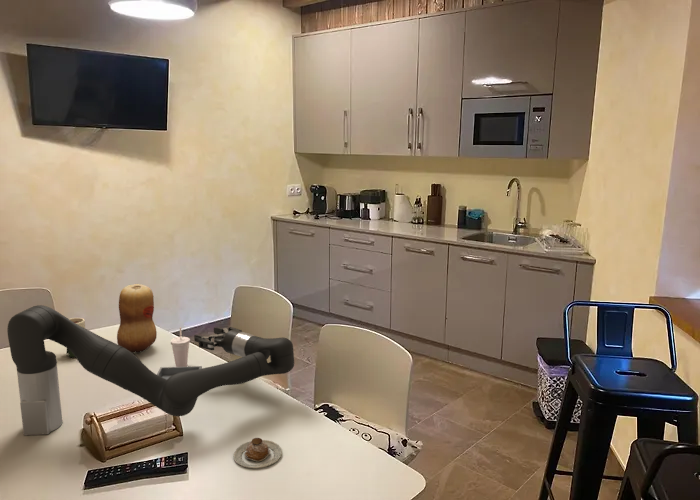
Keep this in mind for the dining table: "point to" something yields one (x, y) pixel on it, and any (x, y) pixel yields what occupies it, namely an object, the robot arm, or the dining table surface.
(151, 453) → the dining table surface
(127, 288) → the butternut squash
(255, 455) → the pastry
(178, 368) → the bin
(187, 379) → the robot arm
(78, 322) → the character mug
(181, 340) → the smoothie
